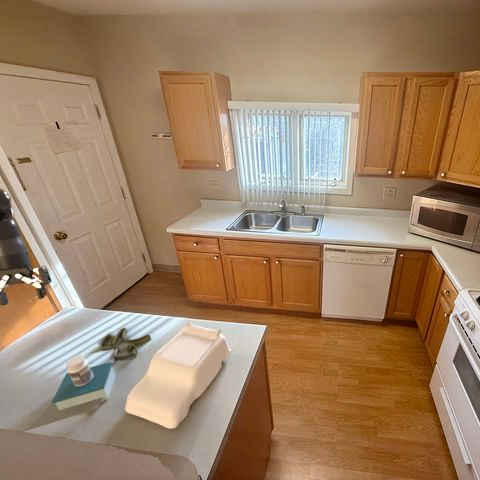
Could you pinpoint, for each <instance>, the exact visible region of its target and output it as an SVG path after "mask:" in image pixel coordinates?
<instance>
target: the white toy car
mask: <svg viewBox="0 0 480 480" xmlns="http://www.w3.org/2000/svg"><path fill="white" fill-rule="evenodd" d="M221 332H222V329H217V330H215V329H212V328H206V327H204V326H199V325H195V324H193V323H192V322H191V321H190V320H189V321H188V322H187V324H186V325H185V327H183V328H182V329H181V330H179V332H177V333H176V334H175V335H174V336H173V337H172V338H171V339H170V340H169V341H167V343H166V344H164V346H162V347H161V348H160V349H158V351H156V353H154V355H153V356H152V357H151V360H150V364H149V366H148V370H147V372H146V373H145V375H144V376H143V377H142V378H141V379H140V380H139V381H138V383H137V384H136V385H134V387H133V388H132V389H131V390H130V391H129V393H128V394H127V397H126V404H125V406H124V410H125V412H126V413H127V414H129V415H133V416H136V417H139V418H142V419H144V420H147V421H149V422H152V423H154V424H157V425H159V426H162V427H164V428H166V429H169V430H173V429H176V428H177V427H178V426H179V425H180V424H181V423H182V421H184V420H185V418H187V415H188V414H189V412H190V407H191V405H192V404H193V403H194V402H195V400H197V399H198V398H199V397H201V396H202V394H203V393H204V392H205V391H206V390H207V388H208V387H209V385H210V384H211V383H212V381H213V380H214V379H215V377H217V375H218V373H219V372H220V371H221V369H222V366H223V365H222V363H223V361H225V360H227V359H229V357H230V355H231V353H232V349H231V348H230V345H229V343H228V341H227V339H226V337H225V336H224V335H223V334H222V333H221Z"/></svg>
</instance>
